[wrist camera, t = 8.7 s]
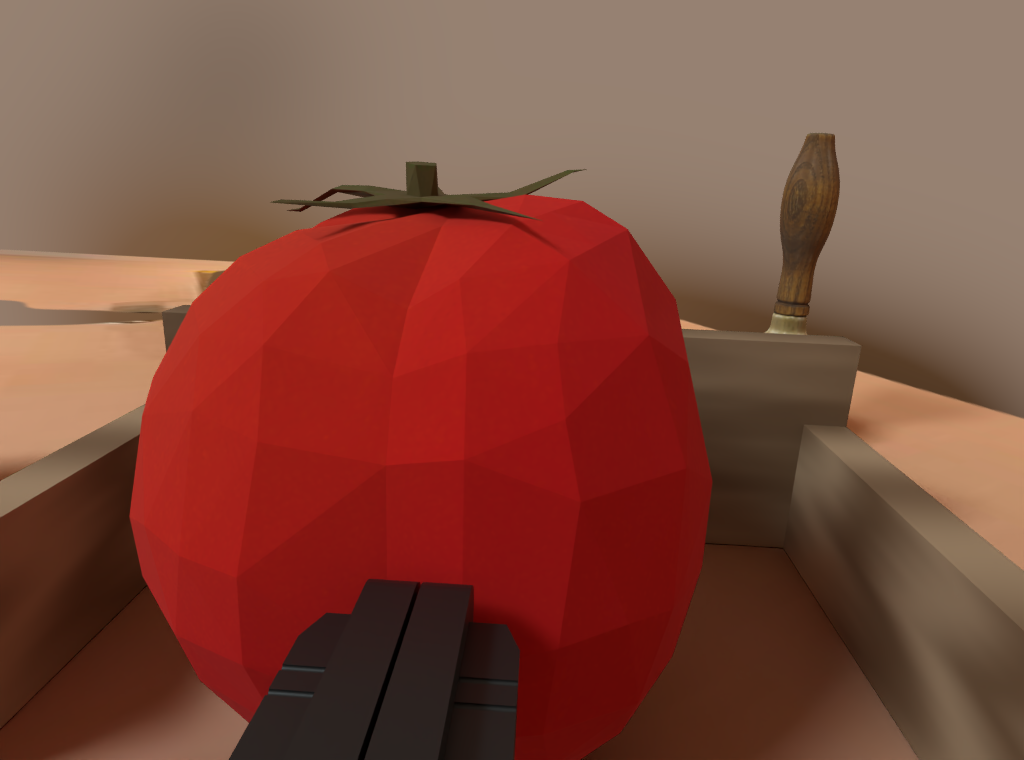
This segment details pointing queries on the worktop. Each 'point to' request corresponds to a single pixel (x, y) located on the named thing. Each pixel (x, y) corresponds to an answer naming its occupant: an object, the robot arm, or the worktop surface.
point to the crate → (731, 520)
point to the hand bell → (805, 228)
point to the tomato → (433, 446)
